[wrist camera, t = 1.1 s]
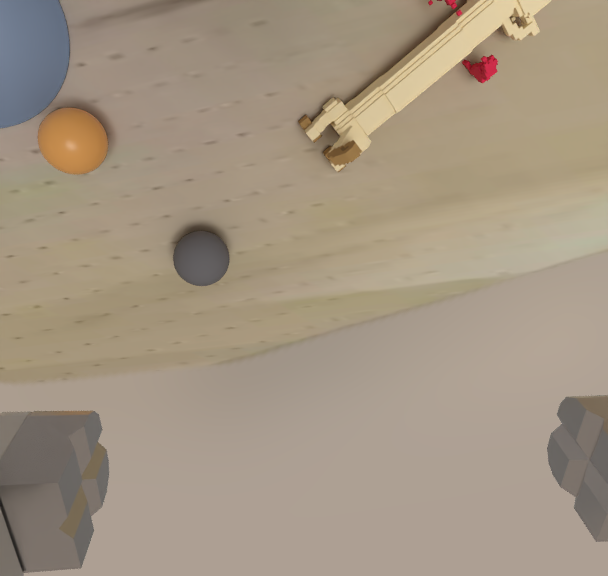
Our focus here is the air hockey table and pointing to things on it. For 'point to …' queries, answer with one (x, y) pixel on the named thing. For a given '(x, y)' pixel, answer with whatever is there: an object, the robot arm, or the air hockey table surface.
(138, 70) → the air hockey table surface
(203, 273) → the dark grey ball
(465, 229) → the air hockey table surface
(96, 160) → the object ball
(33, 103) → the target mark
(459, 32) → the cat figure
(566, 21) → the air hockey table surface
